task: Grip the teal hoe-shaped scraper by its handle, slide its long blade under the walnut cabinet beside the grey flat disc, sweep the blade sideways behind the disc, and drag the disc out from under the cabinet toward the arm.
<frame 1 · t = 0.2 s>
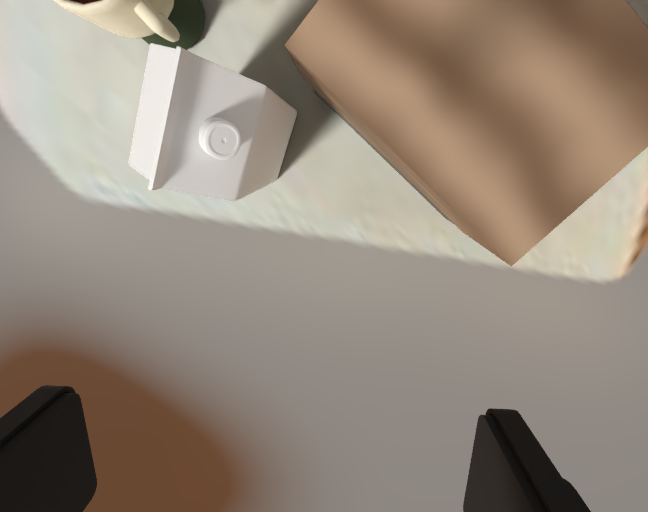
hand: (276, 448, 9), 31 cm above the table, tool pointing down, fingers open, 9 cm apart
cabinet: (434, 100, 35), on the table
milk carton: (254, 135, 37), on the table
character mug: (174, 19, 34), on the table
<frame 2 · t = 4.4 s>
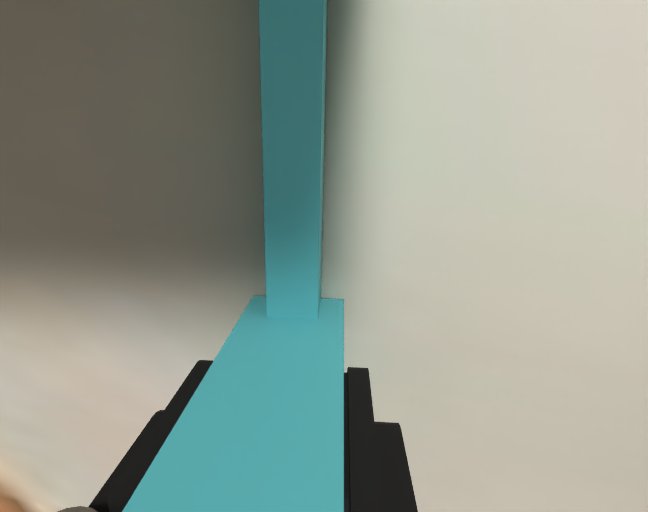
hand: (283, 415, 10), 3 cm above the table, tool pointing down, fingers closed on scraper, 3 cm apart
scraper: (298, 350, 13), on the table, touching gripper
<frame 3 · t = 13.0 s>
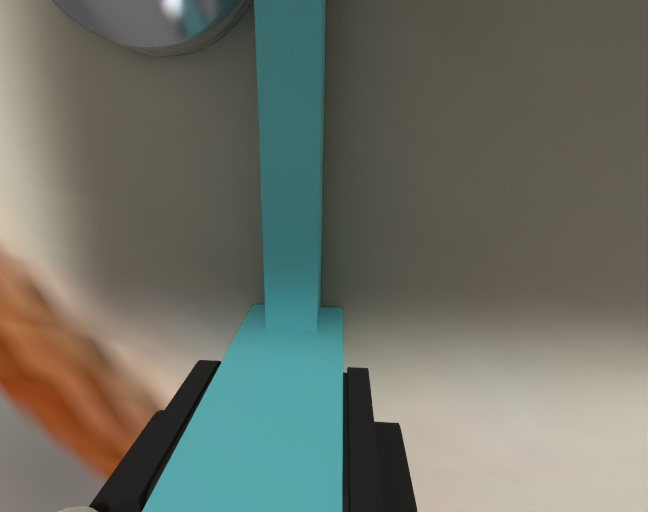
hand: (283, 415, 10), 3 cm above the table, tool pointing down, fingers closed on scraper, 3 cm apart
scraper: (297, 358, 13), on the table, touching gripper
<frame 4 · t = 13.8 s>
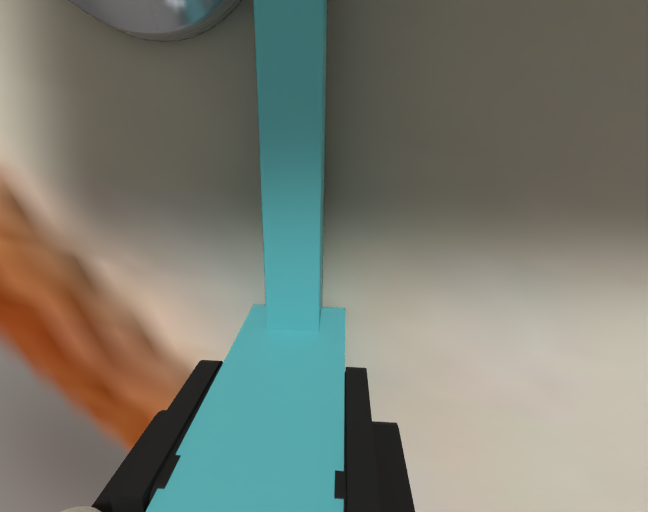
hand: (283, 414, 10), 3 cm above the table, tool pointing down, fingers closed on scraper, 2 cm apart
scraper: (299, 358, 13), on the table, touching gripper
when the fingers open (3 cm above the table, at t = 15.0 s): scraper stays where it is, on the table.
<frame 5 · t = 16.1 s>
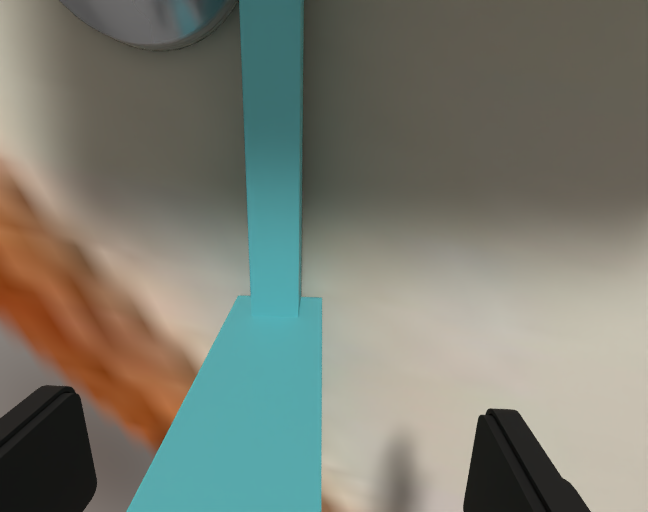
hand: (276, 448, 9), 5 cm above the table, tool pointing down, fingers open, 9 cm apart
scraper: (280, 345, 14), on the table
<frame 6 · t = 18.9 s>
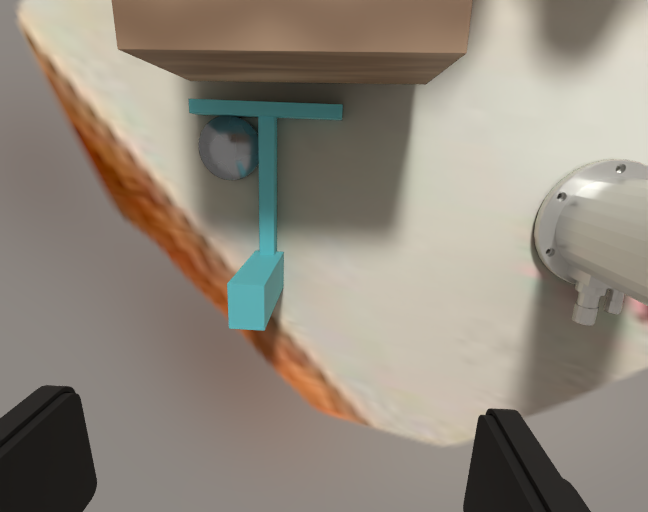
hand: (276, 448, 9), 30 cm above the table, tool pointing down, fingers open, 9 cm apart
cabinet: (310, 2, 32), on the table
scraper: (269, 268, 40), on the table
grey flat disc: (232, 148, 36), on the table
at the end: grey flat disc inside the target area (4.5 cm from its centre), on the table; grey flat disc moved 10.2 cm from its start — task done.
